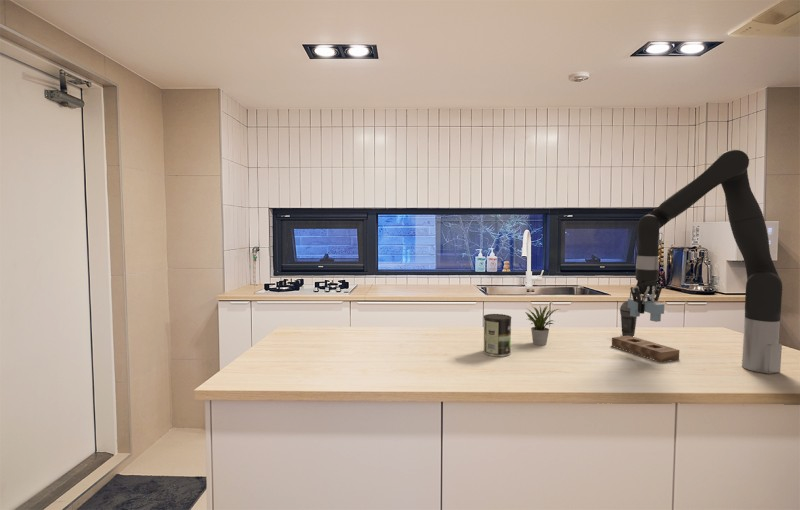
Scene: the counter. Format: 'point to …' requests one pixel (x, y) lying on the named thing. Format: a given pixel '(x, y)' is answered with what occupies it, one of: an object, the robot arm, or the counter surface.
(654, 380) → the counter surface
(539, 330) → the house plant
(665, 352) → the brown wooden slab
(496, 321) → the coffee can
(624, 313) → the beverage cup
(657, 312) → the grey bridge block
